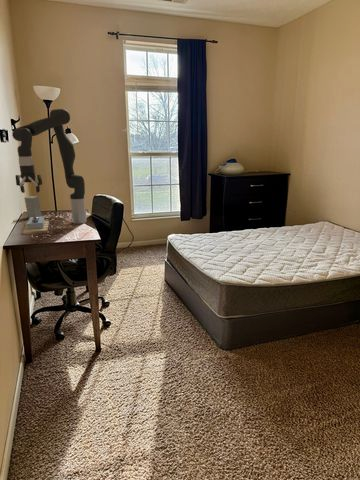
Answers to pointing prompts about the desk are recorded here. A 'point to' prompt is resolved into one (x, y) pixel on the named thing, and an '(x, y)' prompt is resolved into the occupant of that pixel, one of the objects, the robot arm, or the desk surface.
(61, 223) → the desk surface
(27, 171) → the robot arm
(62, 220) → the desk surface
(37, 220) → the bosses
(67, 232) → the desk surface
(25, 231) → the board
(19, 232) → the desk surface
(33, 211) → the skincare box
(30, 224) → the panel
